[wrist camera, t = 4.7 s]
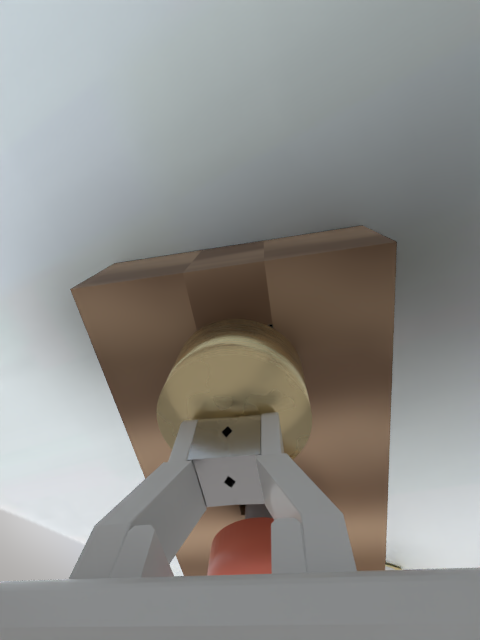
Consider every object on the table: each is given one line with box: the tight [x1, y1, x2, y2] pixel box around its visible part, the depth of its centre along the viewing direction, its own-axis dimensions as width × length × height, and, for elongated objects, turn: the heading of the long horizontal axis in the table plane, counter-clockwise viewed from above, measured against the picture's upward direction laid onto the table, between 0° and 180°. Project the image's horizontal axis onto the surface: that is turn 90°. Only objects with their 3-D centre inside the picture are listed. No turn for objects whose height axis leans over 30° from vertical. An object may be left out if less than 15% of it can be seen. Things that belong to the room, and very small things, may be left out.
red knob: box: [207, 504, 274, 576], centre depth 14 cm, size 5×5×6 cm
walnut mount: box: [70, 226, 397, 576], centre depth 18 cm, size 24×12×4 cm, turn 9°
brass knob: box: [157, 319, 312, 460], centre depth 13 cm, size 5×5×6 cm
